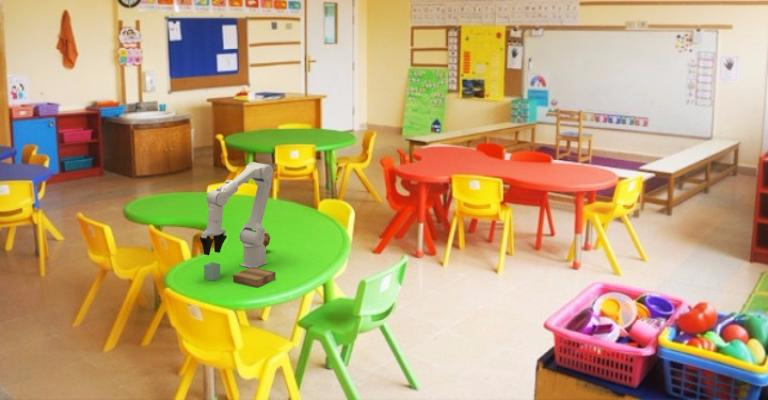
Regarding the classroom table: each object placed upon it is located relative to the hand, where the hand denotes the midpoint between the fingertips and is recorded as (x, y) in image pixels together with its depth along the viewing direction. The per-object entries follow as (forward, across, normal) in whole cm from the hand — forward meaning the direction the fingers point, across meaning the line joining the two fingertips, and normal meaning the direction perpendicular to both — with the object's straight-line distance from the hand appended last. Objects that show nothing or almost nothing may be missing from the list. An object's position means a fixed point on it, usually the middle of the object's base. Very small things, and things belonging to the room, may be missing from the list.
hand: (211, 253), depth 319 cm
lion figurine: (+5, -37, 0) cm, 38 cm away
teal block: (+10, -2, 0) cm, 11 cm away
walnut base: (+9, -6, +17) cm, 20 cm away
